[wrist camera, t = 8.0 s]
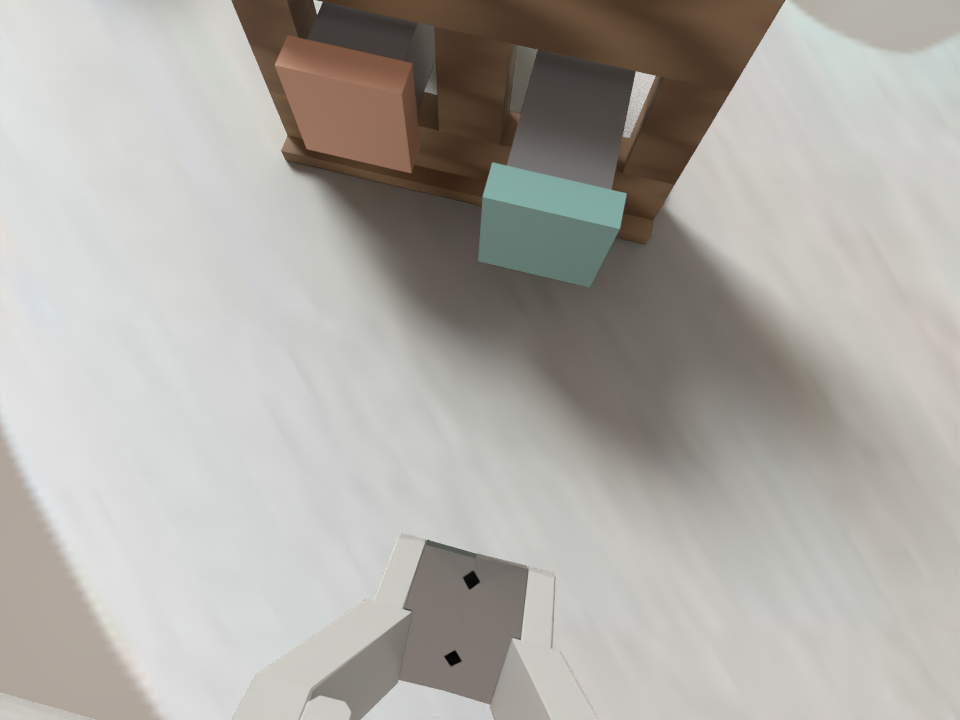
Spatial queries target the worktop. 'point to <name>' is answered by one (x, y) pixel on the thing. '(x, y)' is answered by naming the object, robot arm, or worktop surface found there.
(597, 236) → the teal button
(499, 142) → the walnut panel
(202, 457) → the worktop surface
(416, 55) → the terracotta button
